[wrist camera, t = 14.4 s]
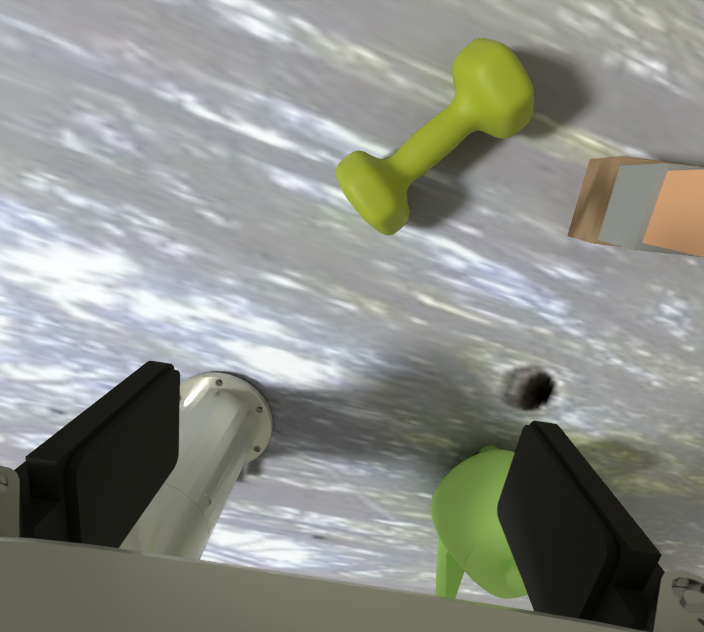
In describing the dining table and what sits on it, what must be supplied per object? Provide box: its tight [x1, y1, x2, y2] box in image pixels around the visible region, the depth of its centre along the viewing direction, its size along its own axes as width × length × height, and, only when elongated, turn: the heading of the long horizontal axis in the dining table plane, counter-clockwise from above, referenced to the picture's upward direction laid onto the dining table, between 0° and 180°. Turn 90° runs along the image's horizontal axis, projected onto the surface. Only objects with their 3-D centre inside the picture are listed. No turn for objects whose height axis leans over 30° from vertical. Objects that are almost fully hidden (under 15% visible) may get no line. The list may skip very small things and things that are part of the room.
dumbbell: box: [336, 38, 534, 235], centre depth 33 cm, size 16×8×7 cm, turn 129°
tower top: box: [598, 163, 704, 257], centre depth 30 cm, size 6×6×5 cm
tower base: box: [568, 156, 704, 247], centre depth 35 cm, size 7×7×5 cm
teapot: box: [430, 445, 527, 599], centre depth 43 cm, size 20×13×13 cm
